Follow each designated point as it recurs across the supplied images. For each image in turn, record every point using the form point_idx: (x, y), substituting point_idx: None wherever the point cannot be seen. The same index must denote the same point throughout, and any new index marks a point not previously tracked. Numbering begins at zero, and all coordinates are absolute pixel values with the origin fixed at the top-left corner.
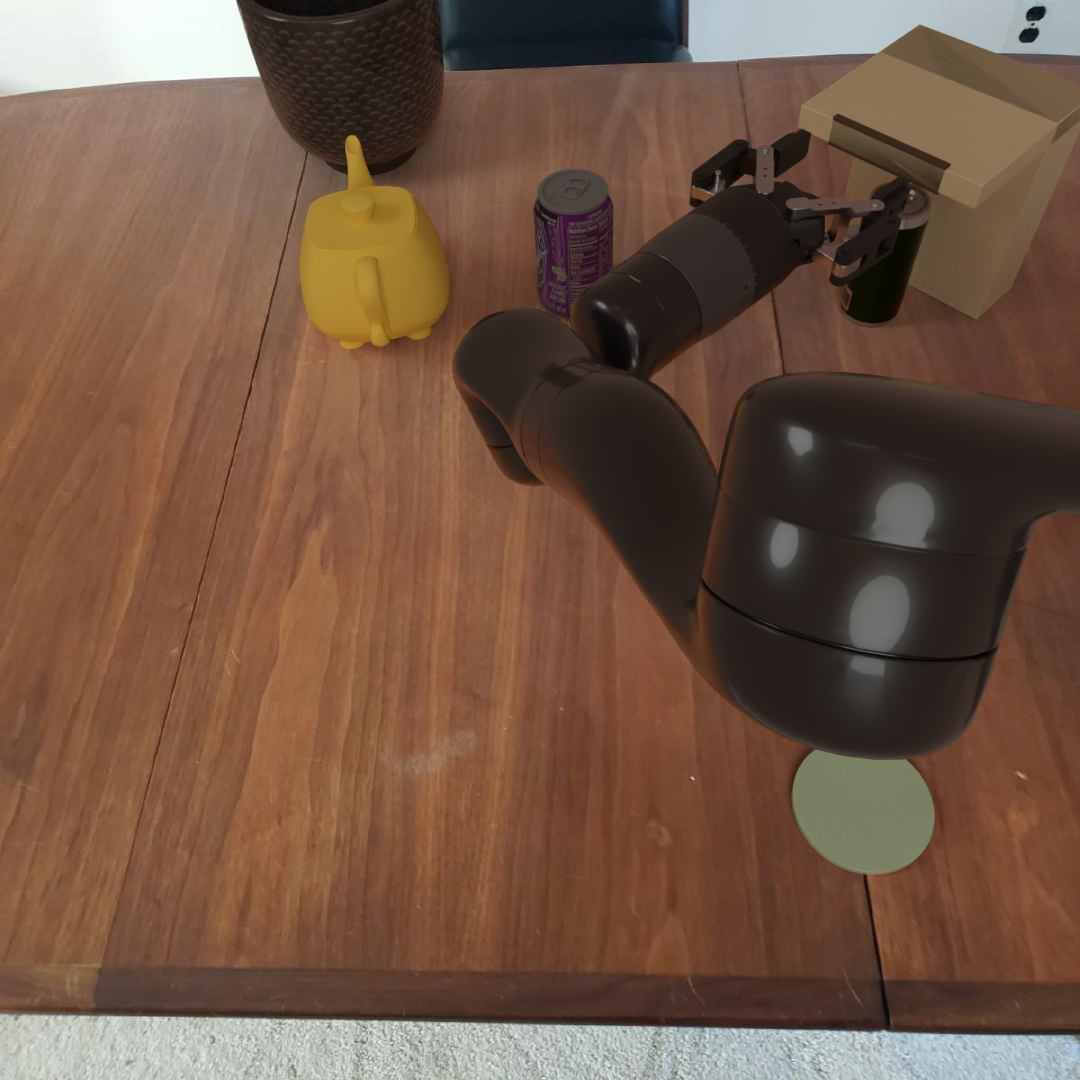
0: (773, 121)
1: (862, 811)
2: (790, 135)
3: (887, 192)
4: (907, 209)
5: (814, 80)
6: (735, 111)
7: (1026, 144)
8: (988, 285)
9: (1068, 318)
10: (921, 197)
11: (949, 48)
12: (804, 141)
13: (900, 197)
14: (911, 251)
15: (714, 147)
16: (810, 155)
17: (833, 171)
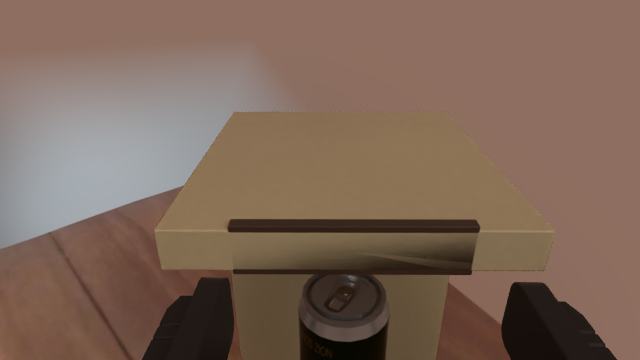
0: (105, 261)
1: None
2: (179, 308)
3: (583, 349)
4: (365, 302)
5: (127, 216)
6: (59, 268)
7: (488, 164)
8: (438, 326)
9: (482, 312)
10: (361, 278)
11: (285, 118)
12: (223, 305)
13: (596, 340)
14: (386, 347)
15: (46, 314)
16: (158, 276)
17: (190, 280)
